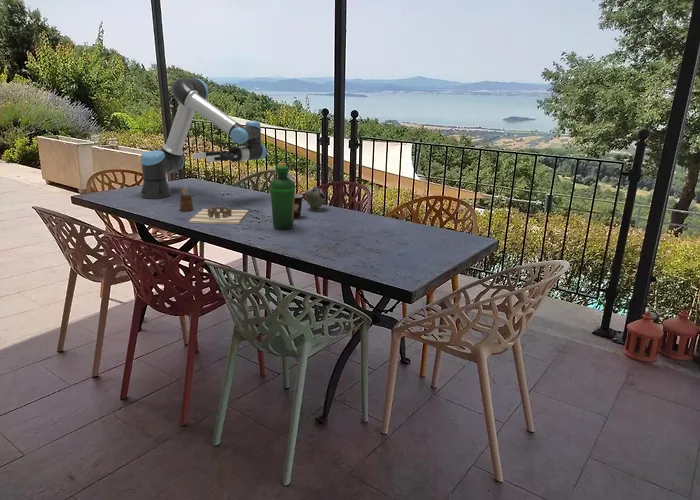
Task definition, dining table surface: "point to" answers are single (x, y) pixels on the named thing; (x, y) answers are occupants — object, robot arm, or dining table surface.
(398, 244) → the dining table surface
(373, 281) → the dining table surface
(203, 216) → the ring collar board
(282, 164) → the bottle
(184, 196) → the utensil holder
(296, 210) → the coffee mug
